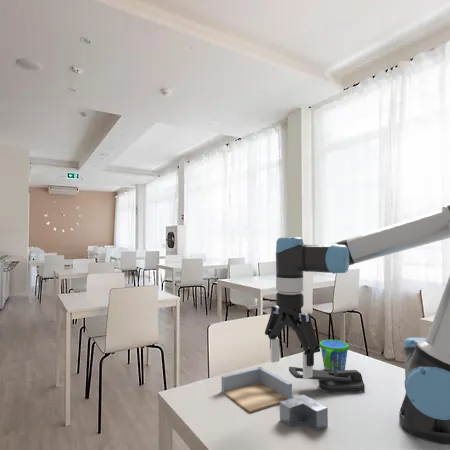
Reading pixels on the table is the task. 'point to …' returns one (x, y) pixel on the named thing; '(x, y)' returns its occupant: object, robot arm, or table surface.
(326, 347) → the snack cup
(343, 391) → the zipper pull
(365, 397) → the table surface
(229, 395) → the cork mat
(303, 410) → the angle bracket
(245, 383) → the corner walls
